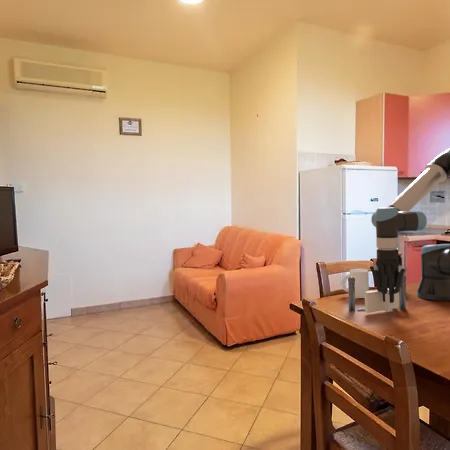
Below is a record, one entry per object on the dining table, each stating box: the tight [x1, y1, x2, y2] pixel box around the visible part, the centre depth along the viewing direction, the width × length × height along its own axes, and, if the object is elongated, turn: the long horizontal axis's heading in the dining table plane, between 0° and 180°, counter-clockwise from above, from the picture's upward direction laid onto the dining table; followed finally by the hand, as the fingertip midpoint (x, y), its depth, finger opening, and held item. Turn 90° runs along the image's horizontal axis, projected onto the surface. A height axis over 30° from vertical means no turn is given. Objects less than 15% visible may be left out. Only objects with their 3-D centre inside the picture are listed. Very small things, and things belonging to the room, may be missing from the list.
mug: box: [340, 268, 370, 299], centre depth 168 cm, size 8×12×12 cm
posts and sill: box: [347, 274, 407, 312], centre depth 147 cm, size 23×3×14 cm, turn 89°
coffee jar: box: [377, 251, 403, 289], centre depth 178 cm, size 11×11×18 cm
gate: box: [364, 288, 399, 314], centre depth 144 cm, size 15×2×8 cm, turn 109°
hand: (388, 310), depth 140 cm, fingers closed
